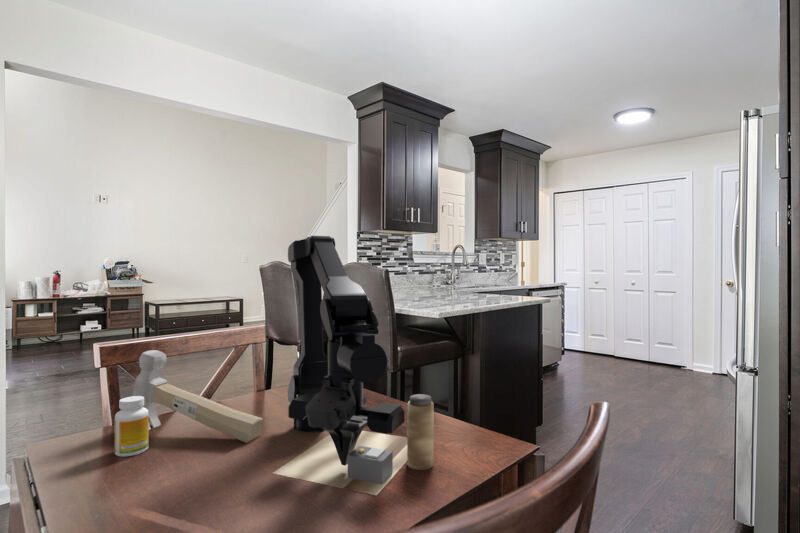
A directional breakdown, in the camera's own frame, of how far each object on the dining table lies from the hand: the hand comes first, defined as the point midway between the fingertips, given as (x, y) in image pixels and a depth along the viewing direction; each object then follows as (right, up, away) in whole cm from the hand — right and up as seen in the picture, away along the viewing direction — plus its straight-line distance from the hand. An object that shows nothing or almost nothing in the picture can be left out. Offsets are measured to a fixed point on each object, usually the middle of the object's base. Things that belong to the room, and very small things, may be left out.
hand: (344, 464), depth 71 cm
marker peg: (+12, -2, +3) cm, 13 cm away
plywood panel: (+1, -2, +6) cm, 6 cm away
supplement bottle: (-41, -2, +10) cm, 42 cm away
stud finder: (+4, -1, -1) cm, 5 cm away
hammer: (-33, -2, +18) cm, 38 cm away
